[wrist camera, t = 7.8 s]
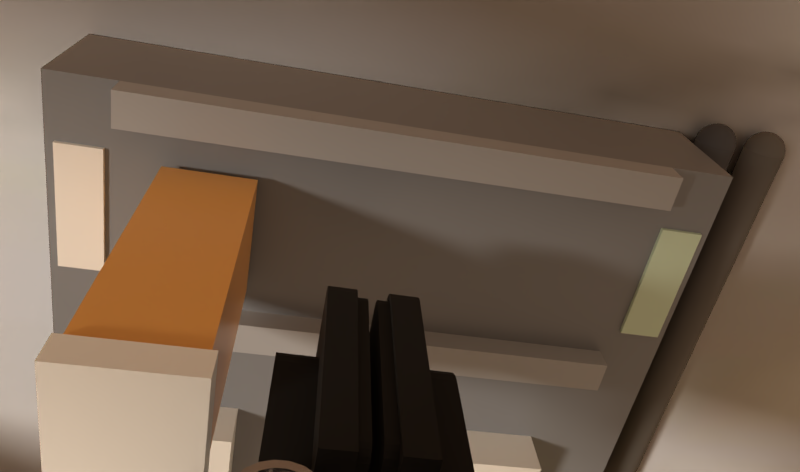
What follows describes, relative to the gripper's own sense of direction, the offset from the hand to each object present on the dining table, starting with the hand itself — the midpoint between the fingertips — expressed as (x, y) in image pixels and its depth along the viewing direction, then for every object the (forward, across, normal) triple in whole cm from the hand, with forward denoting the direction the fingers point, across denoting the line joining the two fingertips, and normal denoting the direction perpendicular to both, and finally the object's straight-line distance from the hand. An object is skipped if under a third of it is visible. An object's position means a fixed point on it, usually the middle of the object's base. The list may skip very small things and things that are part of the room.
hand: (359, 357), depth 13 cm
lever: (+4, +3, 0) cm, 5 cm away
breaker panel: (+7, -1, +3) cm, 8 cm away
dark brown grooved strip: (+7, -10, +3) cm, 12 cm away
